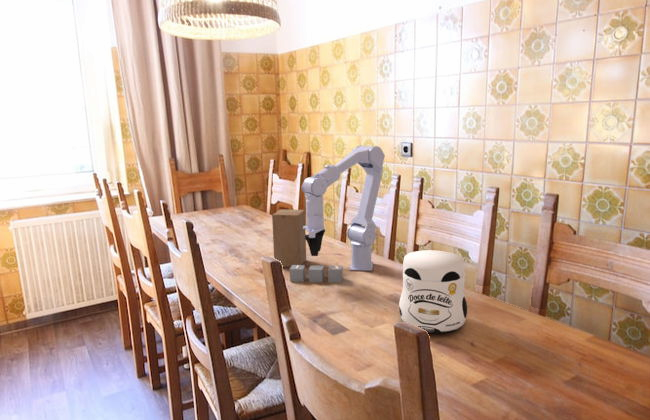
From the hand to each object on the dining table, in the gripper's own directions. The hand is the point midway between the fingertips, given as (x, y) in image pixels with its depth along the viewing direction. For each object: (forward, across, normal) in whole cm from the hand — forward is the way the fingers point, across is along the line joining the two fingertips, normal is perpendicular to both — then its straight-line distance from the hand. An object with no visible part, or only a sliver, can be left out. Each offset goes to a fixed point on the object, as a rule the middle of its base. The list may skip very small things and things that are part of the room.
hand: (315, 253), depth 154 cm
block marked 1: (+10, 0, -6) cm, 12 cm away
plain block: (+10, 0, 0) cm, 10 cm away
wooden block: (+10, -17, -12) cm, 23 cm away
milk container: (+10, +31, +36) cm, 48 cm away
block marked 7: (+10, 0, +6) cm, 12 cm away
